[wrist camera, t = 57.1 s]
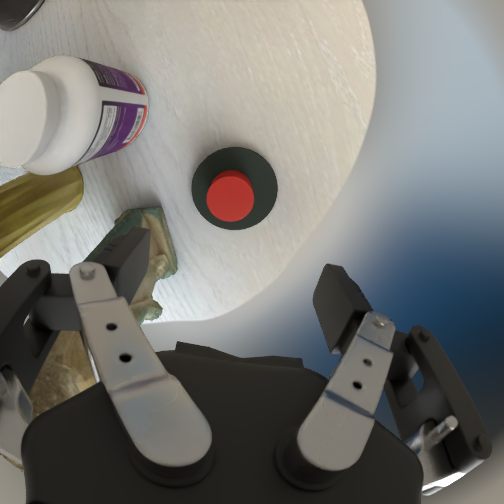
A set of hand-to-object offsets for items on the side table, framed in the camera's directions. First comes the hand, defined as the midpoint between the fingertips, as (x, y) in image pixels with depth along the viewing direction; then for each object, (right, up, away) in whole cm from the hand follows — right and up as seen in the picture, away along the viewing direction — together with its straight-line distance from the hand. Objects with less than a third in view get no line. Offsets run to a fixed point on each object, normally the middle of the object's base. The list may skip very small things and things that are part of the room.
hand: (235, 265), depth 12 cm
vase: (-20, +8, +12) cm, 25 cm away
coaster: (-1, +7, +14) cm, 15 cm away
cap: (-1, +6, +13) cm, 15 cm away
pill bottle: (-13, +14, +9) cm, 21 cm away
